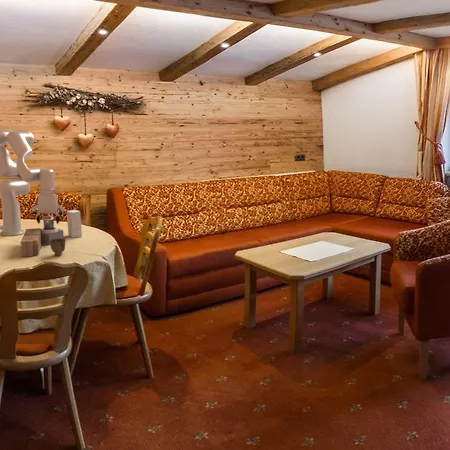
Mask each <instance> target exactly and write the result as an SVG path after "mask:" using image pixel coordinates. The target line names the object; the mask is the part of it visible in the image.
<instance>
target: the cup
mask: <svg viewBox="0 0 450 450" xmlns="http://www.w3.org/2000/svg"><path fill="white" fill-rule="evenodd" d="M49 246H50V249H51V251H52V252H53V253H54V256H55V257H59V256H62V255H63V252H64V251H65V249H66V238H64V239H63V238H62V239H61V238H58V239H57V240H56V239H55V240H54V239H52V240H50V245H49Z"/></svg>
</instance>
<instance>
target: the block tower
mask: <svg viewBox="0 0 450 450" xmlns="http://www.w3.org/2000/svg"><path fill="white" fill-rule="evenodd" d="M41 228H42V227H41ZM41 228H40V227H37V228H26V229H25V231H24V233H23V236H22V238H21V240H20V249H21V251H20V252H21V257H33V256H39V254H40V251H41V247H42V244H41Z"/></svg>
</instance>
